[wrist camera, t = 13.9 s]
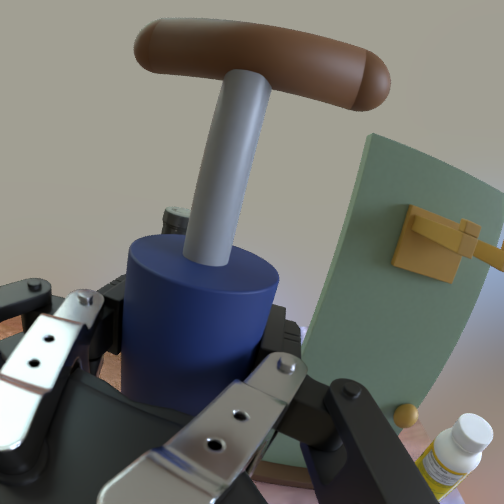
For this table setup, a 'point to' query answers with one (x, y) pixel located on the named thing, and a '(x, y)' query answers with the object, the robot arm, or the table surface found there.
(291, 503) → the table surface
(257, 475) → the green panel
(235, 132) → the t-handle plunger
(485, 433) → the pill bottle
